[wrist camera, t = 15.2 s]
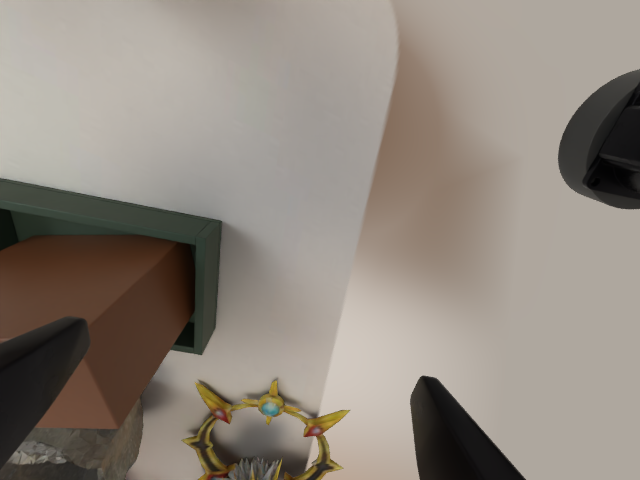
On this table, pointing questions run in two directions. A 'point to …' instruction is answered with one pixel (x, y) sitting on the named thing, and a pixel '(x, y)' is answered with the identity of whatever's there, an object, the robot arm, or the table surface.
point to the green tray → (119, 219)
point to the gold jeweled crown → (257, 475)
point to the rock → (77, 452)
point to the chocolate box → (100, 313)
